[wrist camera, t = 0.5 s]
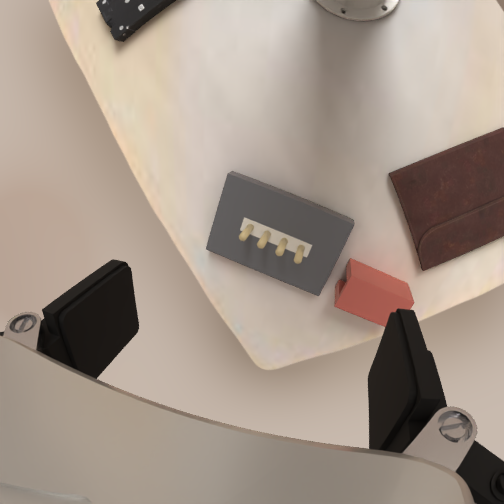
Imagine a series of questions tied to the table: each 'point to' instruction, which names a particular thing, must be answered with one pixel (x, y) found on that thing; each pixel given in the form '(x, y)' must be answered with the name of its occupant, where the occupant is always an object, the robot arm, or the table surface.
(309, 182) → the table surface
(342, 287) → the block
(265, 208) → the board
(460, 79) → the table surface
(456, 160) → the notebook
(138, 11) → the disk drive
